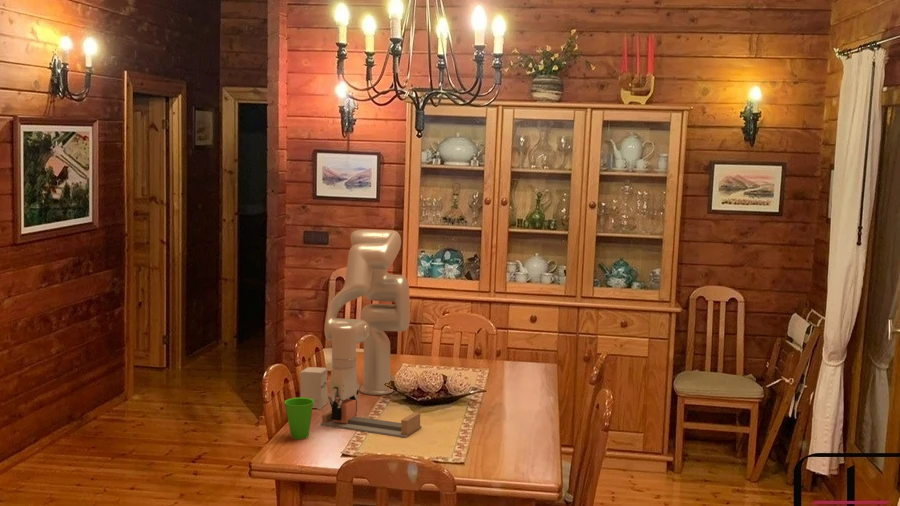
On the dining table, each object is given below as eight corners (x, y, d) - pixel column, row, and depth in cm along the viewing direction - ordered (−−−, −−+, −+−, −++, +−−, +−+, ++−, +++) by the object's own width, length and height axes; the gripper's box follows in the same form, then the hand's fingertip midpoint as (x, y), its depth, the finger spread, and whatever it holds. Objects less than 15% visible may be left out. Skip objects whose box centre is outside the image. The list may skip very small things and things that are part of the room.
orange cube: (342, 416, 293) (342, 398, 293) (356, 418, 291) (356, 400, 291) (332, 421, 288) (332, 403, 287) (346, 423, 286) (346, 405, 285)
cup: (303, 430, 282) (302, 395, 280) (320, 437, 275) (320, 401, 274) (278, 436, 275) (278, 401, 274) (296, 443, 269) (295, 407, 268)
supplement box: (320, 409, 304) (320, 372, 302) (299, 408, 305) (299, 371, 304) (328, 403, 311) (327, 367, 310) (307, 402, 313) (307, 366, 311)
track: (338, 415, 297) (338, 401, 296) (421, 427, 285) (421, 412, 284) (320, 425, 287) (320, 409, 286) (405, 437, 275) (405, 421, 274)
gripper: (347, 356, 297) (348, 407, 299) (319, 367, 281) (319, 421, 283) (368, 358, 294) (368, 410, 296) (340, 370, 278) (340, 424, 280)
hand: (344, 415), depth 289 cm, fingers open, 9 cm apart
